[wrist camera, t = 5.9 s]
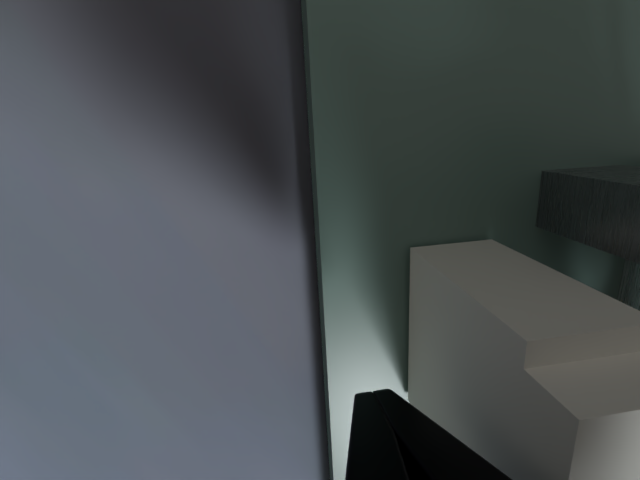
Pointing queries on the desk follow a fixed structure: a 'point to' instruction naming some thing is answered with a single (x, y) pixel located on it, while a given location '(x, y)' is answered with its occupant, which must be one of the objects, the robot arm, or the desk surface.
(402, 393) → the board
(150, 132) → the desk surface
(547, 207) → the grey rail mechanism
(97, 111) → the desk surface
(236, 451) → the desk surface
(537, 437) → the white block
